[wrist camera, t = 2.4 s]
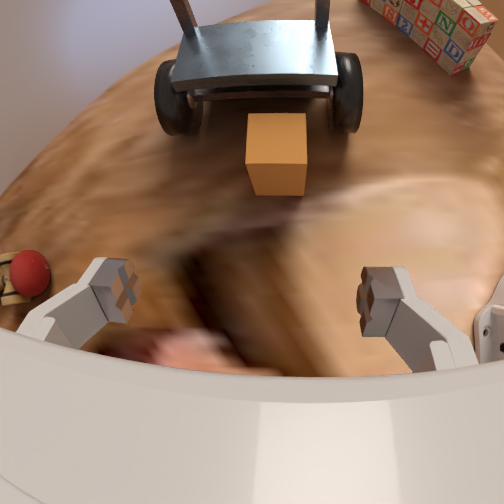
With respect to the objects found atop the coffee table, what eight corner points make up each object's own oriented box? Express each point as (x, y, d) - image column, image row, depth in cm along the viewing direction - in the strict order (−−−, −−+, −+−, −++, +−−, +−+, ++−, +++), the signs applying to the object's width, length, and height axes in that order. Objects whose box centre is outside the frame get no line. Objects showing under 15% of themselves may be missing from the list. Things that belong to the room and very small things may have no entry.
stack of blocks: (355, -2, 36) (362, -56, 24) (379, -7, 36) (388, -58, 24) (450, 77, 32) (481, 23, 20) (470, 68, 32) (500, 19, 20)
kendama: (-1, 317, 36) (57, 305, 32) (-31, 310, 31) (18, 295, 27) (2, 272, 39) (60, 247, 35) (-27, 262, 33) (24, 231, 29)
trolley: (355, 147, 32) (414, -31, 9) (173, 149, 34) (63, 5, 12) (347, 83, 33) (374, -77, 10) (185, 87, 36) (111, -52, 13)
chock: (303, 195, 32) (307, 163, 24) (255, 195, 32) (245, 163, 25) (303, 153, 32) (305, 113, 25) (257, 153, 33) (248, 113, 25)
